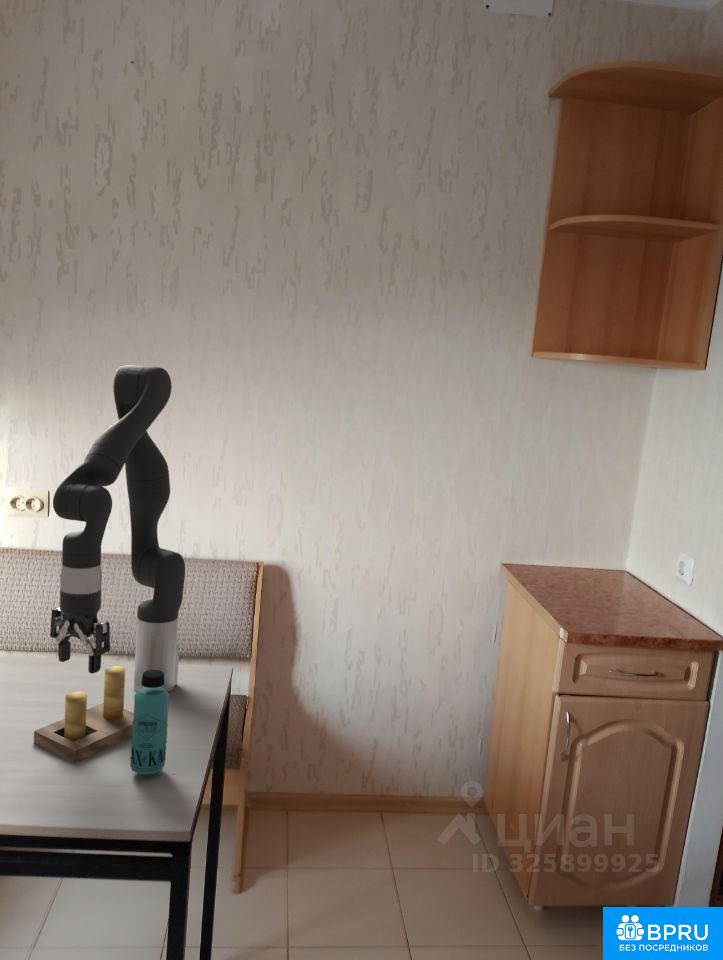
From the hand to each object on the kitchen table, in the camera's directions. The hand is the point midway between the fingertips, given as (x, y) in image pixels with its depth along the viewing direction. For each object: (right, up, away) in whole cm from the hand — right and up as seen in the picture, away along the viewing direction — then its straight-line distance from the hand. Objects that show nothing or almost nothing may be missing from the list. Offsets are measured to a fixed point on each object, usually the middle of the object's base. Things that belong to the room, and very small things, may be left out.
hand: (79, 666), depth 155 cm
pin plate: (0, -16, +6) cm, 16 cm away
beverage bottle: (+15, -19, -6) cm, 25 cm away
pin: (-2, -16, +2) cm, 16 cm away
